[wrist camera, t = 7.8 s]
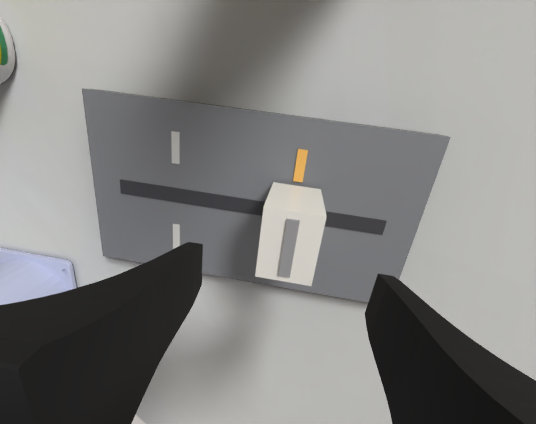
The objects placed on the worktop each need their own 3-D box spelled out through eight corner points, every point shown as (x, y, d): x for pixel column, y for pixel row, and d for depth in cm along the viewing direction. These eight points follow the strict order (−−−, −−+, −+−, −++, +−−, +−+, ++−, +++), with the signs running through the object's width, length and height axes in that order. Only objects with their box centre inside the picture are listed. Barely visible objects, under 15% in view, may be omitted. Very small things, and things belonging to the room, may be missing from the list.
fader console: (383, 293, 21) (389, 307, 20) (115, 246, 23) (102, 256, 21) (438, 134, 17) (451, 137, 15) (98, 89, 18) (80, 88, 17)
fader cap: (309, 245, 18) (311, 288, 14) (265, 238, 19) (254, 278, 14) (321, 189, 17) (327, 217, 13) (273, 182, 17) (263, 207, 13)
